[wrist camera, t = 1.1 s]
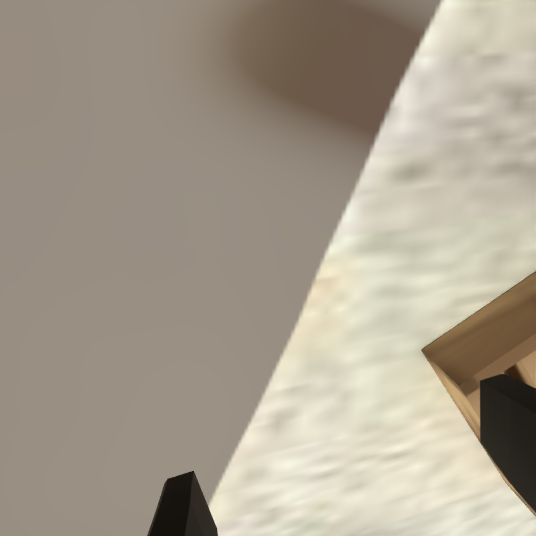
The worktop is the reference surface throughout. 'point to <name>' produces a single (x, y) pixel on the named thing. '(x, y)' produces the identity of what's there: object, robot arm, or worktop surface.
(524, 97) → the worktop surface
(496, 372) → the wooden slatted frame
